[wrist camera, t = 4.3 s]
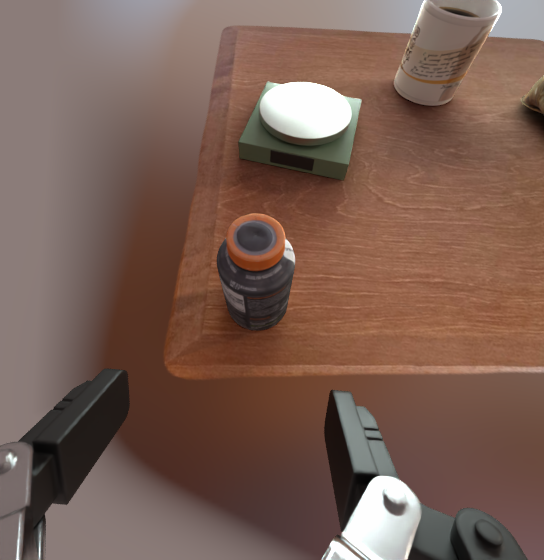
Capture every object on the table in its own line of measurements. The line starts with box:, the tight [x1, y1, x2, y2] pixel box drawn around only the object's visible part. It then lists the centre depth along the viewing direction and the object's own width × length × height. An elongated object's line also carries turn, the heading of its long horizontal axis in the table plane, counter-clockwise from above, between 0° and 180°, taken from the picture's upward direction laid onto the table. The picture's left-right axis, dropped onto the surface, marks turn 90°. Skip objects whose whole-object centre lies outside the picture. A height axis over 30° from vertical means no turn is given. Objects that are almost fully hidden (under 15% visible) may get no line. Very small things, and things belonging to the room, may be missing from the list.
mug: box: [394, 0, 502, 106], centre depth 45 cm, size 10×12×11 cm
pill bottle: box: [217, 214, 295, 330], centre depth 25 cm, size 6×6×11 cm
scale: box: [238, 82, 361, 180], centre depth 40 cm, size 14×14×4 cm
